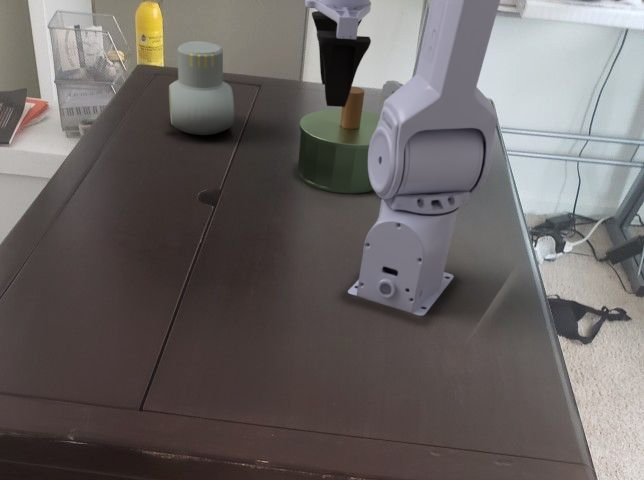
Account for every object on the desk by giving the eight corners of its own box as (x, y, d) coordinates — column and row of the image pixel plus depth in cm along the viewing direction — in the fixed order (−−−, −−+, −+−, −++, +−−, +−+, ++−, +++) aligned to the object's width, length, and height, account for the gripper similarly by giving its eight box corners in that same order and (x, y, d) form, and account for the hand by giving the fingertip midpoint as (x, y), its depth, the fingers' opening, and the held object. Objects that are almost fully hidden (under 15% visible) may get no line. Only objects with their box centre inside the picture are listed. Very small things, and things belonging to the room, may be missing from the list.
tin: (364, 201, 89) (371, 154, 85) (282, 179, 93) (285, 133, 89) (399, 171, 96) (406, 127, 92) (321, 151, 100) (325, 108, 96)
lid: (381, 162, 85) (389, 114, 82) (284, 141, 88) (287, 94, 85) (410, 129, 94) (417, 85, 90) (319, 111, 96) (323, 68, 93)
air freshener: (235, 143, 100) (236, 60, 93) (173, 143, 99) (170, 59, 92) (226, 115, 108) (227, 36, 101) (169, 115, 107) (166, 34, 99)
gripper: (305, -65, 81) (295, 73, 91) (313, -39, 71) (301, 114, 81) (369, -61, 81) (353, 76, 91) (386, -35, 71) (366, 117, 81)
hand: (332, 94), depth 86 cm, fingers open, 7 cm apart
